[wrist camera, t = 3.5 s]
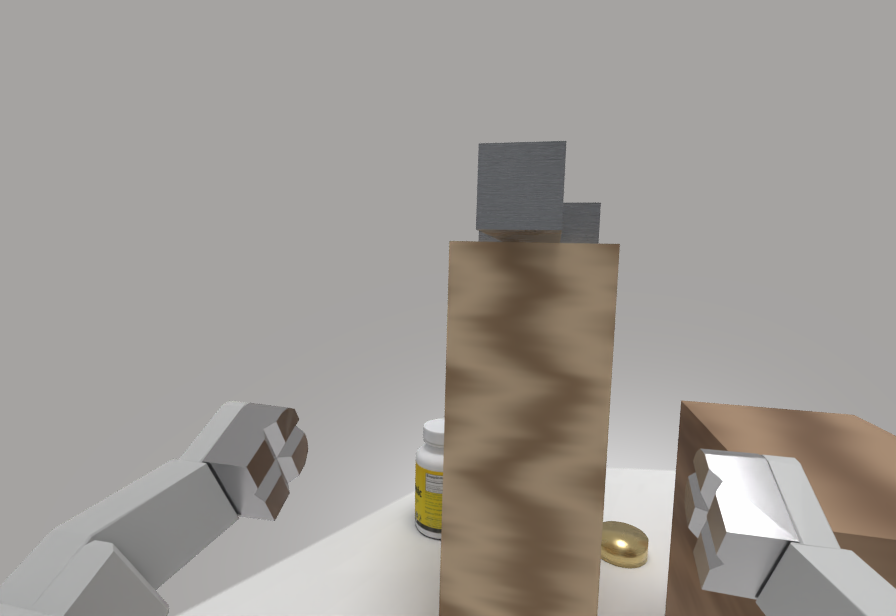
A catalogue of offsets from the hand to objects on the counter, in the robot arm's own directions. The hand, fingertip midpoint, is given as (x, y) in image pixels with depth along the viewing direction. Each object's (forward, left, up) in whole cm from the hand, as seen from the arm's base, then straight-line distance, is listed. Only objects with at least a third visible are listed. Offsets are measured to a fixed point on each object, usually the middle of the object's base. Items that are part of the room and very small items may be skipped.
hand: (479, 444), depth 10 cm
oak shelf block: (0, +23, -21) cm, 31 cm away
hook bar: (0, +18, +5) cm, 19 cm away
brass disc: (+8, +33, -21) cm, 40 cm away
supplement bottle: (-8, +33, -21) cm, 40 cm away
